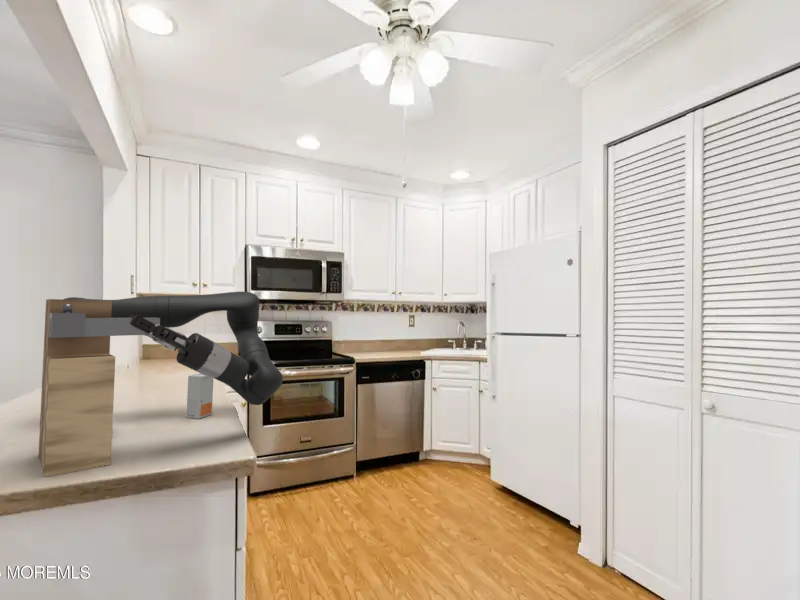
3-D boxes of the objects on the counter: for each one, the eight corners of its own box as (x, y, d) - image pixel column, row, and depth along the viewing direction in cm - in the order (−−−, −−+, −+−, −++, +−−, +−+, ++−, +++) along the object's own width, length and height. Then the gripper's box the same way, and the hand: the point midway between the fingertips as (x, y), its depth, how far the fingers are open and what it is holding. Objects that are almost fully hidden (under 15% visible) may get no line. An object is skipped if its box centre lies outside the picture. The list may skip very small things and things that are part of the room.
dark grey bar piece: (48, 336, 82) (49, 304, 82) (154, 333, 94) (154, 305, 95) (51, 337, 78) (52, 304, 79) (160, 334, 91) (161, 305, 91)
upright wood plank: (38, 455, 88) (46, 299, 89) (97, 446, 95) (103, 301, 96) (44, 476, 77) (53, 298, 78) (110, 464, 84) (117, 300, 85)
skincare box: (199, 419, 121) (200, 376, 121) (185, 418, 121) (187, 375, 122) (212, 414, 127) (214, 373, 127) (200, 413, 127) (201, 372, 128)
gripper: (202, 339, 106) (133, 303, 96) (225, 343, 95) (150, 303, 85) (185, 367, 103) (112, 333, 93) (207, 374, 93) (127, 336, 83)
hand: (131, 319), depth 89 cm, fingers closed on dark grey bar piece, 3 cm apart
